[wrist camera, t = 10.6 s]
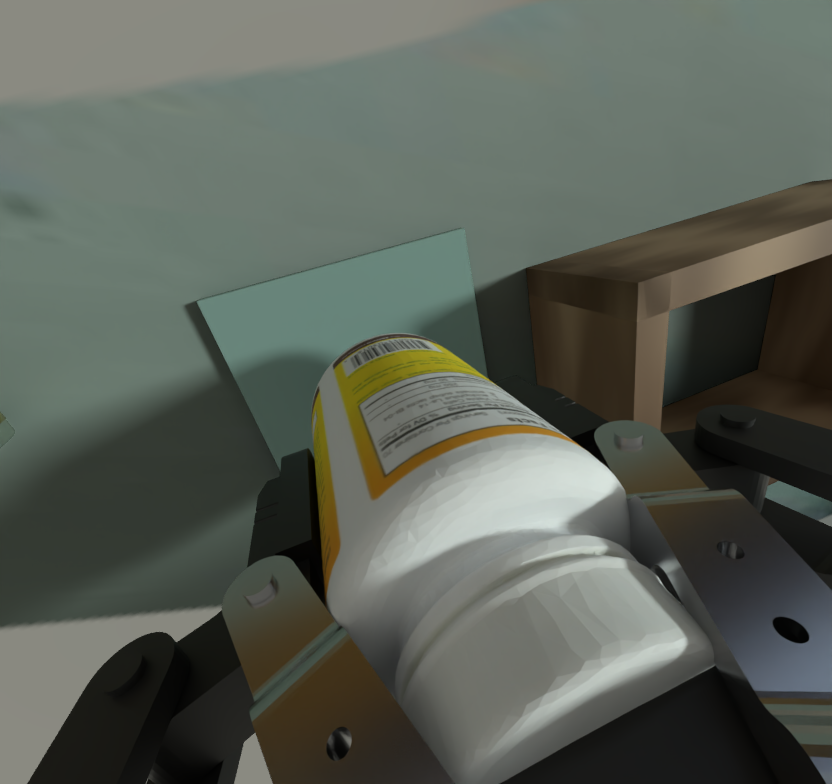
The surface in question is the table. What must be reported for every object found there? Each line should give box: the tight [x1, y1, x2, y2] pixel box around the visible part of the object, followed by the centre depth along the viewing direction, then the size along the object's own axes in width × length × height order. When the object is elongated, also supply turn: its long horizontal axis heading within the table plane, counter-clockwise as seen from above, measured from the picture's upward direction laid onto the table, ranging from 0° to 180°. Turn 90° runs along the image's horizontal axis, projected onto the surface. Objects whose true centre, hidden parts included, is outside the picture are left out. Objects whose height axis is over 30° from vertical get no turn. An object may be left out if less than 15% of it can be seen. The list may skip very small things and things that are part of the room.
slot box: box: [526, 179, 832, 485], centre depth 17 cm, size 16×11×6 cm
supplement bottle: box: [311, 333, 715, 784], centre depth 9 cm, size 6×6×10 cm
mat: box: [197, 228, 488, 470], centre depth 16 cm, size 10×10×1 cm
